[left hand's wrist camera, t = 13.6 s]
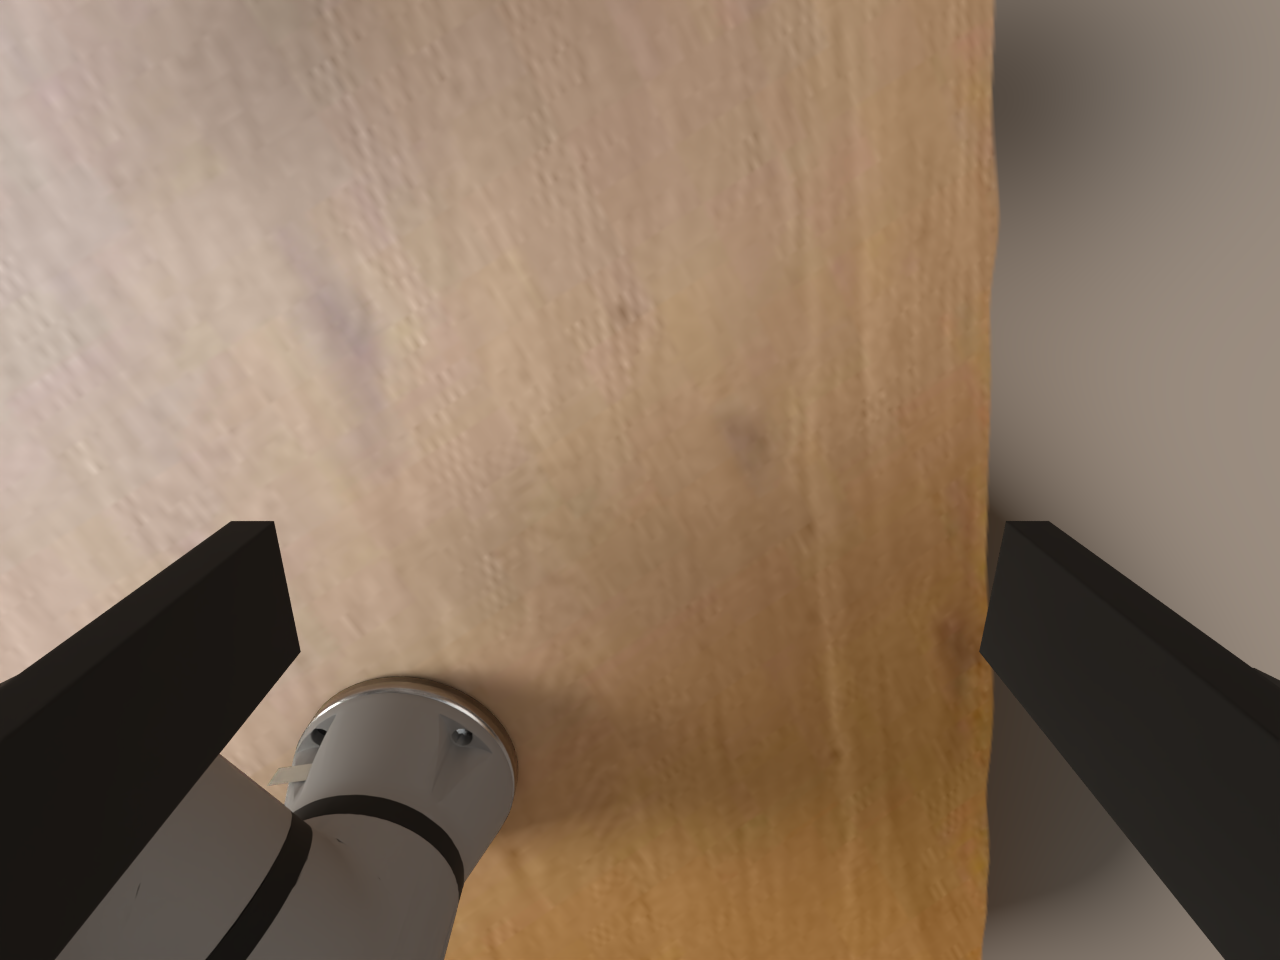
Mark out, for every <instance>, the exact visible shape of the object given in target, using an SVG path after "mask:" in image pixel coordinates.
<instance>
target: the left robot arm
mask: <svg viewBox="0 0 1280 960" xmlns="http://www.w3.org/2000/svg"><path fill="white" fill-rule="evenodd" d="M300 652H301V651H300V646H299V641H298V637H297V632H296V627H295V622H294V617H293V612H292V607H291V602H290V597H289V593H288V588H287V583H286V578H285V573H284V568H283V563H282V558H281V553H280V548H279V544H278V539H277V534H276V529H275V524H274V521H231V522H229V523H228V524H227V525H225V526H224V527H222V528H221V529H220V530H218V531H217V532H216V533H214V534H213V535H211V536H210V537H209V538H207V539H206V540H204V541H203V542H202V543H200V544H199V545H197V546H196V547H195V548H193V549H192V550H191V551H189V552H188V553H186V554H185V555H184V556H182V557H181V558H179V559H178V560H177V561H175V562H174V563H173V564H171V565H170V566H168V567H167V568H166V569H164V570H163V571H161V572H160V573H159V574H157V575H156V576H154V577H153V578H152V579H150V580H149V581H148V582H146V583H145V584H143V585H142V586H141V587H139V588H138V589H136V590H135V591H134V592H132V593H131V594H130V595H128V596H127V597H125V598H124V599H123V600H121V601H120V602H118V603H117V604H116V605H114V606H113V607H111V608H110V609H109V610H107V611H106V612H105V613H103V614H102V615H100V616H99V617H98V618H96V619H95V620H93V621H92V622H91V623H89V624H88V625H87V626H85V627H84V628H82V629H81V630H80V631H78V632H77V633H75V634H74V635H73V636H71V637H70V638H68V639H67V640H66V641H64V642H63V643H62V644H60V645H59V646H57V647H56V648H55V649H53V650H52V651H50V652H49V653H48V654H46V655H45V656H44V657H42V658H41V659H39V660H38V661H37V662H35V663H34V664H32V665H31V666H30V667H28V668H27V669H26V670H24V671H23V672H21V673H20V674H19V675H17V676H15V677H13V678H10V679H8V680H6V681H4V682H2V683H0V960H444V958H445V954H446V950H447V946H448V942H449V938H450V935H451V931H452V927H453V923H454V919H455V916H456V912H457V908H458V903H459V900H460V896H461V892H462V889H463V885H464V882H465V881H466V879H467V878H468V876H469V875H470V873H471V872H472V870H473V869H474V867H475V866H476V864H477V863H478V861H479V860H480V858H481V857H482V855H483V854H484V853H485V851H486V850H487V848H488V847H489V845H490V844H491V842H492V841H493V839H494V838H495V836H496V835H497V833H498V832H499V830H500V829H501V827H502V825H503V824H504V822H505V820H506V818H507V816H508V814H509V812H510V809H511V806H512V802H513V798H514V793H515V789H516V784H517V778H518V763H517V756H516V753H515V749H514V746H513V744H512V741H511V739H510V737H509V735H508V734H507V732H506V730H505V729H504V727H503V726H502V724H501V723H500V722H499V721H498V720H497V718H496V717H495V716H494V715H493V714H492V713H491V712H490V711H489V710H488V709H486V708H485V707H484V706H483V705H482V704H480V703H479V702H478V701H476V700H475V699H473V698H472V697H470V696H468V695H466V694H465V693H463V692H461V691H459V690H457V689H455V688H452V687H450V686H447V685H444V684H442V683H438V682H435V681H431V680H426V679H421V678H413V677H385V678H377V679H372V680H368V681H364V682H361V683H358V684H355V685H353V686H351V687H348V688H346V689H344V690H343V691H341V692H339V693H338V694H336V695H335V696H333V697H332V698H331V699H329V700H328V701H327V702H326V703H325V704H324V705H323V706H322V707H321V708H320V709H319V711H318V712H317V713H316V715H315V716H314V718H313V719H312V721H311V722H310V724H309V725H308V727H307V728H306V730H305V731H304V733H303V735H302V736H301V738H300V740H299V743H298V745H297V748H296V752H295V755H294V759H293V763H292V766H291V767H284V768H279V769H278V770H277V772H276V773H275V775H274V776H273V778H272V779H271V781H270V782H269V784H268V785H267V786H270V785H277V784H284V783H289V784H288V789H287V794H286V799H285V804H282V803H281V802H280V801H279V800H277V799H276V798H275V797H273V796H272V795H271V794H270V793H268V792H267V791H266V790H265V789H263V788H262V787H261V786H260V785H258V784H257V783H256V782H255V781H253V780H252V779H251V778H249V777H248V776H247V775H246V774H244V773H243V772H242V771H241V770H239V769H238V768H237V767H236V766H234V765H233V764H232V763H231V762H229V761H228V760H227V759H225V758H224V757H223V756H222V755H220V754H219V753H220V752H221V751H222V750H223V748H224V747H225V746H226V745H227V743H228V742H229V741H230V740H231V738H232V737H233V736H234V735H235V733H236V732H237V731H238V730H239V728H240V727H241V726H242V725H243V723H244V722H245V721H246V720H247V718H248V717H249V716H250V715H251V713H252V712H253V711H254V710H255V708H256V707H257V706H258V705H259V703H260V702H261V701H262V700H263V698H264V697H265V696H266V695H267V693H268V692H269V691H270V690H271V688H272V687H273V686H274V685H275V683H276V682H277V681H278V680H279V678H280V677H281V676H282V675H283V673H284V672H285V671H286V670H287V668H288V667H289V666H290V664H291V663H292V662H293V661H294V659H295V658H296V657H297V656H298V654H299V653H300ZM979 652H980V653H981V654H982V656H983V657H984V658H985V659H986V661H987V662H988V663H989V664H990V666H991V667H992V668H993V670H994V671H995V672H996V673H997V675H998V676H999V677H1000V678H1001V680H1002V681H1003V682H1004V683H1005V685H1006V686H1007V687H1008V688H1009V689H1010V691H1011V692H1012V693H1013V695H1014V696H1015V697H1016V698H1017V700H1018V701H1019V702H1020V703H1021V705H1022V706H1023V707H1024V708H1025V710H1026V711H1027V712H1028V713H1029V715H1030V716H1031V717H1032V718H1033V720H1034V721H1035V722H1036V723H1037V725H1038V726H1039V727H1040V728H1041V730H1042V731H1043V732H1044V733H1045V735H1046V736H1047V737H1048V738H1049V740H1050V741H1051V742H1052V743H1053V745H1054V746H1055V747H1056V748H1057V750H1058V751H1059V752H1060V753H1061V755H1062V756H1063V757H1064V759H1065V760H1066V761H1067V762H1068V763H1069V765H1070V766H1071V767H1072V769H1073V770H1074V771H1075V772H1076V774H1077V775H1078V776H1079V777H1080V778H1081V780H1082V781H1083V782H1084V784H1085V785H1086V786H1087V787H1088V789H1089V790H1090V791H1091V792H1092V794H1093V795H1094V796H1095V797H1096V799H1097V800H1098V801H1099V802H1100V804H1101V805H1102V806H1103V807H1104V809H1105V810H1106V811H1107V812H1108V814H1109V815H1110V816H1111V817H1112V819H1113V820H1114V821H1115V822H1116V824H1117V825H1118V826H1119V827H1120V829H1121V830H1122V831H1123V832H1124V834H1125V835H1126V836H1127V837H1128V839H1129V840H1130V841H1131V842H1132V844H1133V845H1134V846H1135V847H1136V849H1137V850H1138V851H1139V852H1140V854H1141V855H1142V856H1143V857H1144V859H1145V860H1146V861H1147V863H1148V864H1149V865H1150V866H1151V867H1152V869H1153V870H1154V871H1155V873H1156V874H1157V875H1158V876H1159V878H1160V879H1161V880H1162V881H1163V883H1164V884H1165V885H1166V886H1167V888H1168V889H1169V890H1170V891H1171V893H1172V894H1173V895H1174V896H1175V898H1176V899H1177V900H1178V901H1179V903H1180V904H1181V905H1182V906H1183V908H1184V909H1185V910H1186V911H1187V913H1188V914H1189V915H1190V916H1191V918H1192V919H1193V920H1194V921H1195V923H1196V924H1197V925H1198V926H1199V928H1200V929H1201V930H1202V931H1203V933H1204V934H1205V935H1206V936H1207V938H1208V939H1209V940H1210V941H1211V943H1212V944H1213V945H1214V947H1215V948H1216V949H1217V950H1218V952H1219V953H1220V954H1221V955H1222V957H1223V958H1224V959H1225V960H1280V680H1278V679H1276V678H1274V677H1272V676H1270V675H1268V674H1266V673H1263V672H1261V671H1259V670H1257V669H1255V668H1252V667H1250V666H1249V665H1248V664H1246V663H1245V662H1243V661H1242V660H1241V659H1239V658H1238V657H1236V656H1235V655H1234V654H1232V653H1231V652H1230V651H1228V650H1227V649H1225V648H1224V647H1223V646H1221V645H1220V644H1218V643H1217V642H1216V641H1214V640H1213V639H1211V638H1210V637H1209V636H1207V635H1206V634H1205V633H1203V632H1202V631H1200V630H1199V629H1198V628H1196V627H1195V626H1193V625H1192V624H1191V623H1189V622H1188V621H1187V620H1185V619H1184V618H1182V617H1181V616H1180V615H1178V614H1177V613H1175V612H1174V611H1173V610H1171V609H1170V608H1169V607H1167V606H1166V605H1164V604H1163V603H1162V602H1160V601H1159V600H1157V599H1156V598H1155V597H1153V596H1152V595H1150V594H1149V593H1148V592H1146V591H1145V590H1143V589H1142V588H1141V587H1139V586H1138V585H1137V584H1135V583H1134V582H1132V581H1131V580H1130V579H1128V578H1127V577H1126V576H1124V575H1123V574H1121V573H1120V572H1119V571H1117V570H1116V569H1114V568H1113V567H1112V566H1110V565H1109V564H1107V563H1106V562H1105V561H1103V560H1102V559H1101V558H1099V557H1098V556H1096V555H1095V554H1094V553H1092V552H1091V551H1089V550H1088V549H1087V548H1085V547H1084V546H1083V545H1081V544H1080V543H1078V542H1077V541H1076V540H1074V539H1073V538H1071V537H1070V536H1069V535H1067V534H1066V533H1064V532H1063V531H1062V530H1060V529H1059V528H1058V527H1056V526H1055V525H1053V524H1052V523H1051V522H1049V521H1006V524H1005V529H1004V534H1003V539H1002V544H1001V549H1000V553H999V558H998V563H997V568H996V573H995V578H994V583H993V588H992V593H991V597H990V602H989V607H988V612H987V617H986V622H985V627H984V632H983V637H982V641H981V646H980V651H979Z"/></svg>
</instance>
